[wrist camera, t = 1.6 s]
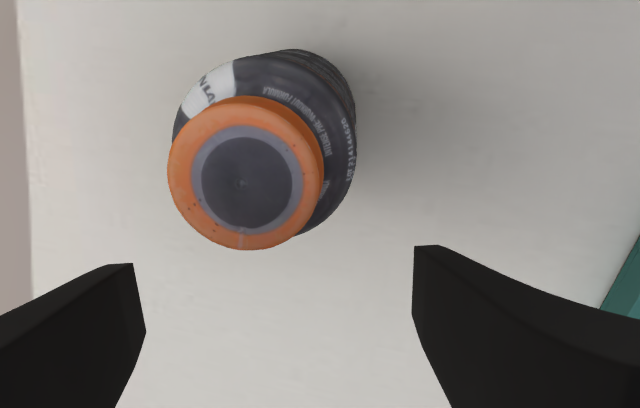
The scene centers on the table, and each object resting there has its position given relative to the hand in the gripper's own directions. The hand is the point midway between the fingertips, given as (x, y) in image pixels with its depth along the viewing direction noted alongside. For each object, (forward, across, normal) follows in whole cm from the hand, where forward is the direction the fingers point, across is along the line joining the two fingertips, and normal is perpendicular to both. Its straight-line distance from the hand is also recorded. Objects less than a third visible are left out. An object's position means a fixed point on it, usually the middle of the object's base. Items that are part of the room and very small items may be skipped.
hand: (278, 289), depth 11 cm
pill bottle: (+12, -1, -3) cm, 12 cm away
